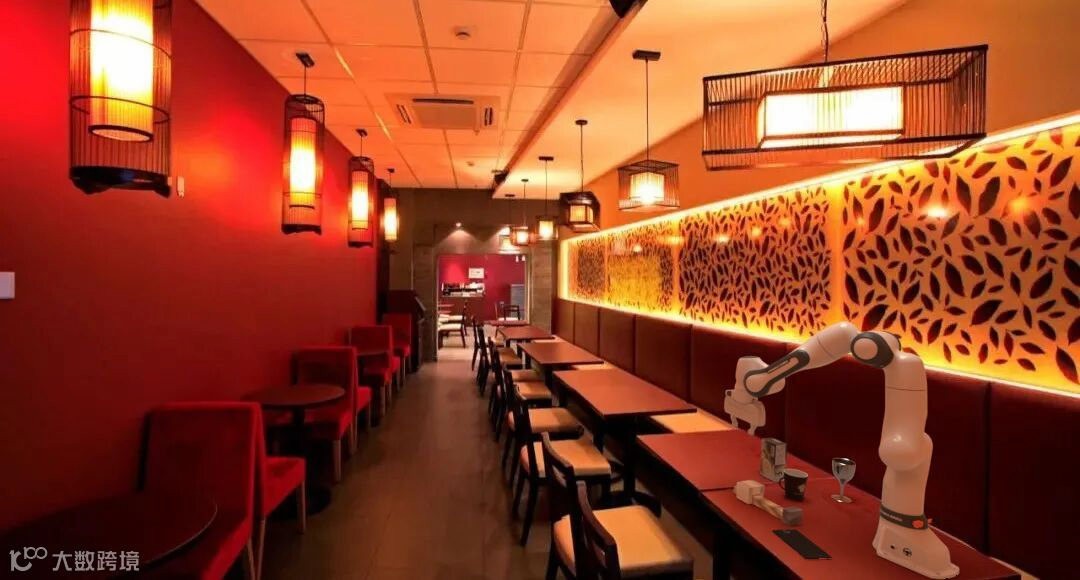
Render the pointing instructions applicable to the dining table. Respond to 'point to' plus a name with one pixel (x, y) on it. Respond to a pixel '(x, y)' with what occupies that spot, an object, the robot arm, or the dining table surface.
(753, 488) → the keeper
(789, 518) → the rail
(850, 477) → the wine glass
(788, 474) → the coffee mug
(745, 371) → the robot arm
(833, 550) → the dining table surface
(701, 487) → the dining table surface
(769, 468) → the coffee box
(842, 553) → the dining table surface
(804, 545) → the cell phone
